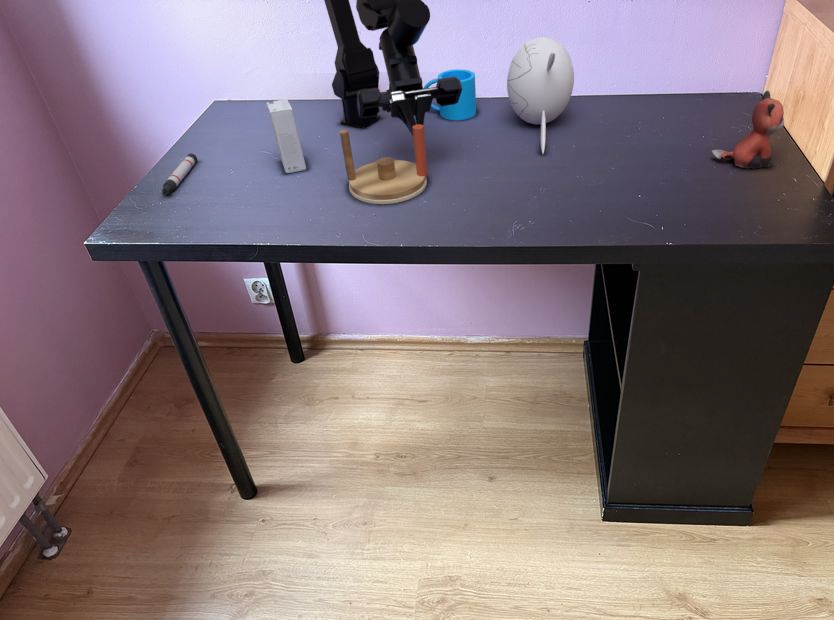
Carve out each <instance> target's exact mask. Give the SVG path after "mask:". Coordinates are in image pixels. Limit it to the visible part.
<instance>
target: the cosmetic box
mask: <svg viewBox="0 0 834 620" xmlns="http://www.w3.org/2000/svg"><path fill="white" fill-rule="evenodd" d="M266 107H267V112H268V115H269V119H270V123H271V126H272V130H273V134H274V137H275V141H276V144H277V149H278V152H279V153H278V154H279V156H280V160H281V163H282V166H283V169H284V172H285V174H293V173H298V172H303V171H306V170H307V165H306V160H305V157H304V153H303V148H302V143H301V140H300V135H299V131H298V127H297V124H296V120H295V115H294V109H293V108H292V106H291V104H290V102H289V99H288V98H283V99H278V100H273V101H268V102H266Z"/></svg>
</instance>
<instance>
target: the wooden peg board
mask: <svg viewBox="0 0 834 620" xmlns="http://www.w3.org/2000/svg"><path fill="white" fill-rule="evenodd" d="M412 128H413V136H412V138H413V149H414V158H415V162H412V161H408V160H402V159H394V158H392V157H381V158H379V159H377V160H376V161H374V162H371V163H367V164H364V165H362V166H360V167H357V168H356V169H355V163H354V159H353V158H354V157H353V152H352V145H351V139H350V133H349V130H348V129H341V130H340V131H339V137H340V141H341V142H340V143H341V146H342V147H341V149H342V153H343V154H342V155H343V160H344V165H345V172H346V177H347V180H348V182H349V183H350V188H351V190H352V191H353V192H354V193H355V194H357V195H359V196H361V197H365V198H369V199H378V200H384V199H394V198H400V197H403V196H407V195H409V194H412V193H414V192H416V191H417V190H419V189H420V188H421V187H422V186H423V185H424V183H425V176H426V177H427V176H428V174H429V172H428V171H429V169H428V159H427V148H426V136H425V126H423V125H421V124H417V125H414V126H413V127H412ZM349 183H348V184H349Z"/></svg>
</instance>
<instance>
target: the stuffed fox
mask: <svg viewBox="0 0 834 620" xmlns="http://www.w3.org/2000/svg"><path fill="white" fill-rule="evenodd" d="M784 116H785V111H784V106H783V104H782V102H781V101H779V100H778V99H775V98H772V97H771V93H770V90H765V91H764V93H763V95H762V96H761V100H760V101H759V102H757V104H756V105H755V107H754V109H753V111H752V116H751V123H752V127H753V128H752V130H751V131H750V132H749V133H748V134H747V135H746V136H745V137H744V138H742V139H741V140H739V142H738V143H736V144H735V146H734V147H733V148H732V150H731V151H726V150H724V149H712V150H711V153H712V154H713V156H714V157H715V158H716V159H718V160H721V161H722V160H723V161H732V160H733V161H734V165H735V167H736V166H738V167H740V168H743V169H744V168H745V169H748V170H749V169H754V170H755V169H759V168H768V167H770V166H771V164H772V163H771V161H772V150H771V144H770V139H771V136H772V135H774V134H776V133H778V132H779V131H781V130H782V129H783V127H784V125H785V119H784Z"/></svg>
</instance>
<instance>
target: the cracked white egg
mask: <svg viewBox="0 0 834 620" xmlns="http://www.w3.org/2000/svg"><path fill="white" fill-rule="evenodd" d="M574 70H575V69H574V65H573V62H572V59H571V56H570V54H569V52H568V51H567V49H566V48H565V47H564V45H563V44H561V43H560V42H559V41H557V40H556V39H554V38H551V37H547V36H546V37H545V36H539V37H535V38H532V39H530V40H528V41H527V42H525V43H524V44H523V45H521V46H520V47H519V49H518V50H517V52H516V53H515V54H514V56H513V58H512V60H511V62H510V65H509V68H508V72H507V78H506V91H507V97H508V100H509V103H510V105H511V107H512V110H513V111H514V112H515V114H516V115H517V116H518V117H519V118H520V119H521V120H523V121H524V122H526V123H528V124H532V125H540V149H541V150H540V151H541V153H542V155H544V154H545V149H546V143H547V142H546V139H547V127H546V126H547V124H548V123H550V122H552V121H553V120H555V119H557V118H558V117H559V116H560V115H561V114H562V113H563V112H564V110H565V109H566V107H567V106H568V104H569V102H570V100H571V97H572V94H573V90H574V85H575V71H574Z"/></svg>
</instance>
